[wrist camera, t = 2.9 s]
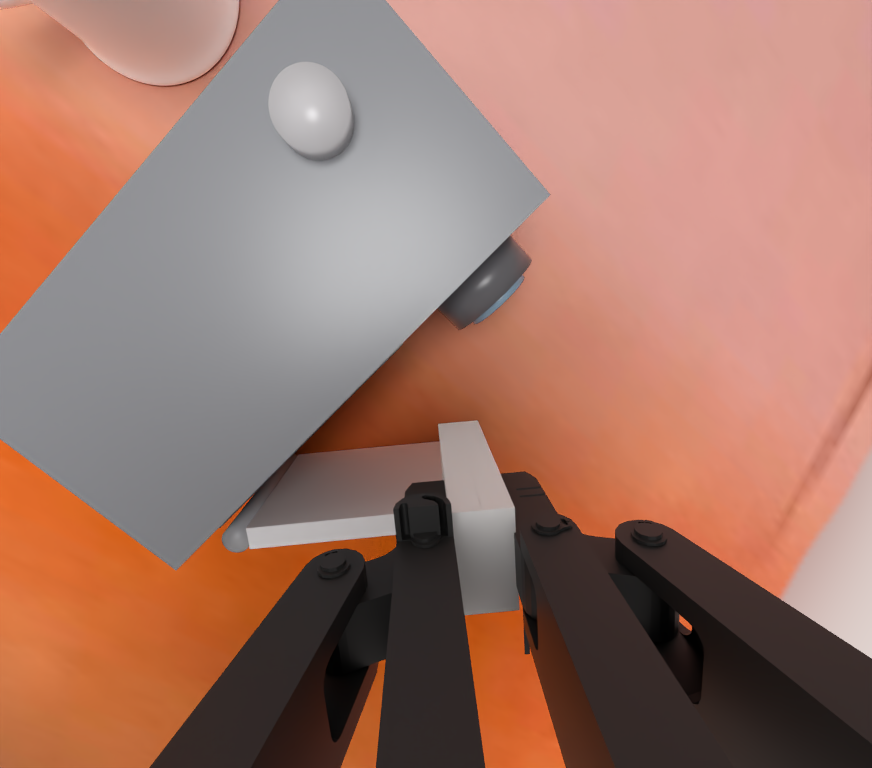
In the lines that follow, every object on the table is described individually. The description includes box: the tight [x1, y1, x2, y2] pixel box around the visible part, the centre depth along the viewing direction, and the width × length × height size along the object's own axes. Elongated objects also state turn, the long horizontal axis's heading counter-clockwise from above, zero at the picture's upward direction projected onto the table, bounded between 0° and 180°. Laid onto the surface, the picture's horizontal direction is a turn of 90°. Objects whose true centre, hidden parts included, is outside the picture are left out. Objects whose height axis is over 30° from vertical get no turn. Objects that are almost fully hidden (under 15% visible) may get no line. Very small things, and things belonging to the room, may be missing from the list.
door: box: [222, 441, 443, 552], centre depth 23 cm, size 12×2×8 cm, turn 95°
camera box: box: [0, 0, 550, 570], centre depth 19 cm, size 20×12×11 cm, turn 135°
